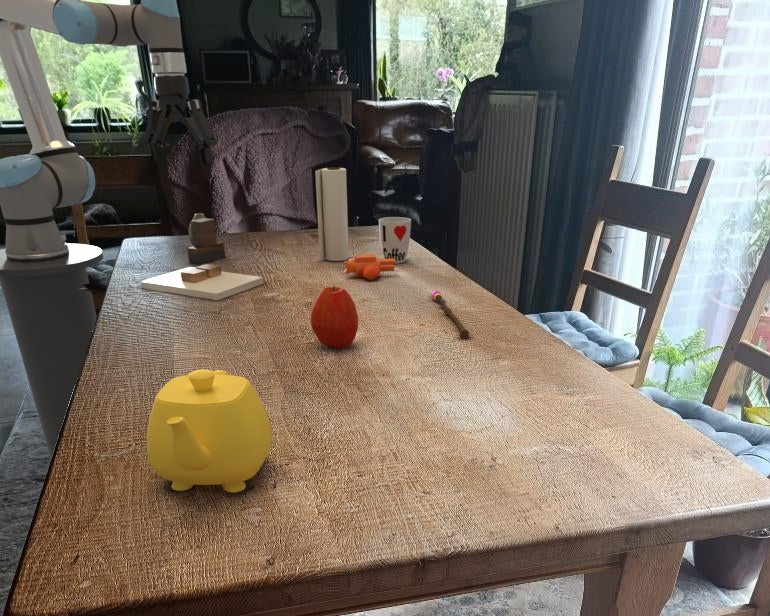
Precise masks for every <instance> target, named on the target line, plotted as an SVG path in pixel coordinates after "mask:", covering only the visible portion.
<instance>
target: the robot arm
mask: <svg viewBox="0 0 770 616" xmlns="http://www.w3.org/2000/svg"><path fill="white" fill-rule="evenodd" d="M177 3H178V2H177V0H140V3H138V4H115V3H104V2H93V1H87V0H0V59H1V62H2V65H3V68H4V71H5V73H6V76H7V79H8V82H9V84H10V88H11V90H12V93H13V95H14V99H15V101H16V103H17V106H18V109H19V112H20V114H21V118H22V120H23V123H24V126H25V129H26V131H27V134H28V138H29V139H30V142H31V145H32V146H31V150H30V152H29V153H28V154H18V155H12V156H7V157H3V158H0V208H1V212H2V216H3V220H4V224H5V248H4V249H5V253H6V256H7V259H8V260H10V261H14V262H40V261H48V260H54V259H59V258H62V257H65V256H67V255H69V254H70V252H69V248H68V245H67V242H66V241H67V236H66V233H63V234H62V233H61V231H60V229H59V227H58V225H57V224H56V221H55V217H54V212H53V210H55V209H59V208H65V207H70V206H72V207H73V206H78V205H80V204H82V203H83V204H84V203H86V202H87V201H89V200H90V199H91V198H92V196H93V194H94V192H95V188H96V177H95V173H94V169H93V167H92V165H91V164H90V163H89V161H87V159H86V158H85V157H84V156H81V155H79V153H78V151H77V148H76V145H75V144H73V143H71V142H70V141H69V140H68V139H67V137H66V134H65V131H64V128H63V125H62V123H61V120H60V116H59V113H58V111H57V108H56V105H55V104H56V103H55V101H54V99H53V96H52V92H51V89H50V87H49V83H48V81H47V77H46V76H45V73H44V69H43V67H42V63H41V60H40V58H39V55H38V52H37V49H36V46H35V43H34V40H33V37H32V34H31V31H32V29H36V30H39V31H42V32H46V33H50V34H53V35H56V36H60V37H62V38H63V39H64V40H65V41H66V42H69V43H72V44H77V45H81V46H82V45H109V46H113V47H122V48H125V47H130V46H132V47H133V46H148V51H149V57H150V64H151V69H152V70H151V71H152V73H153V74H154V75H155V76H154V78H153V83H154V84H153V85H154V90H155V94H156V95H157V96H158V99H149V100H148V116H147V122H146V129H145V133H144V143H145V144H146V145H150V146H151V148H152V152H153V157H154V158H153V159H154V161H155V162H156V166H157V173H158V178H166V177H170V172H169V165H168V159H167V154H166V148H165V146H164V144H163V143H164V140H165V137H166V135H167V133H168V131H169V128H170V126H171V124H172V123H181V124H183V125H185V126H186V128H187V130H188V131H189V133H190V134H191V135H192V137H193V138H194V140H195V141H196V142H197V144H198V145H199V148H198V149H197V150H198V157H199V164H200V165H199V166H200V172H201V173H200V174H201V179H202V180H205V181H206V180H210V179H213V174H212V166H211V164H212V163H213V159H212V151H211V148H212V147H214V146H217V145H218V141H217V139H216V136H215V134H214V132H213V130H212V128H211V125H210V123H209V121H208V119H207V117H206V115H205V113H204V111H203V106H202V102H201V99H189V95H190V85H189V79H188V77H187V76H185V74H187V72H188V71H187V64H186V57H185V51H184V46H183V37H182V29H181V28H182V27H181V19H180V18H181V16H180V15H181V14H180V13H179V8H178V4H177Z"/></svg>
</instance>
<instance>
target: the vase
mask: <svg viewBox="0 0 770 616" xmlns="http://www.w3.org/2000/svg"><path fill="white" fill-rule="evenodd" d="M202 218H206V216H205V215H204V213H201V212H200V213H194V215H193V218H192V220H191V221H193V220H197V219H202ZM188 237H189V241H190V243H191V245H192V247H193V246H194V244H193V237H192V229H191V223H189V226H188Z"/></svg>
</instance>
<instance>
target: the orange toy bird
mask: <svg viewBox="0 0 770 616" xmlns="http://www.w3.org/2000/svg"><path fill="white" fill-rule="evenodd" d="M343 264H344V265H345V269H344V271H343V273H344V275H347V274H350V273H354V275H356V277H357V278H366V280H368V281H373V280H374V279H377V278H378V277H380V274H381V273H383V272H395V265H396V264H395V260H394V258H393V259H384V258H379V257H377V256H376V254H356V255H355V256H353V258H348V259H347V260H343Z"/></svg>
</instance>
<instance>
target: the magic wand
mask: <svg viewBox="0 0 770 616" xmlns="http://www.w3.org/2000/svg"><path fill="white" fill-rule="evenodd" d="M431 298H432V300H434V301H436V302H439V305H440V306H441V307H443V308H444V314H445V315H447V316H449V317H450V318H451V320H452V321H453V322H454V323H455V325H456V326H457V328H458V329H459V337H460V338H461V339H462V340H464V339H465V340H466V339H468V338H469V334H470V333H469V331H468V330H467V329H466V327H465V326H464V325H463V324H462V323H461V322H460V320H459V319H458V318H457V316H456V315H454V313H453V312H452V309H451V308H450V307H448V306H447V305H446V301H445V300H444V299H443V296H442V293H441V292H440V291H439V290H432V292H431Z"/></svg>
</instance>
